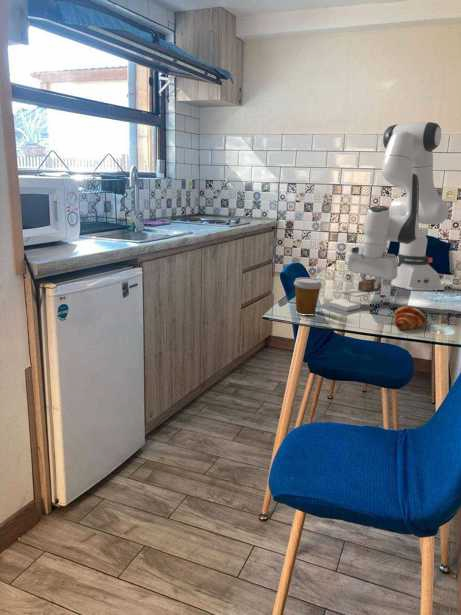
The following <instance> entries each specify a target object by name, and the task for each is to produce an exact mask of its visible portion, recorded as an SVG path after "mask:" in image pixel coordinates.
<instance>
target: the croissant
mask: <svg viewBox="0 0 461 615" xmlns="http://www.w3.org/2000/svg"><path fill="white" fill-rule="evenodd" d="M393 320H394V325H395V327H396V328H397V329H398V330H408V331H410V330H411V331H412V330H413V329H418V328H419V327H421V326H423V325H425V324H426V321H427V316H426V315H425V313H423V312H422V311H421V310H420V309H418V308H416V307H414V306H411V305H410V306H409V305H407V306H406V305H405V306H401V307H398V308H397V309H396V310H395V311H394V314H393Z"/></svg>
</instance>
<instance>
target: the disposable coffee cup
mask: <svg viewBox="0 0 461 615" xmlns="http://www.w3.org/2000/svg"><path fill="white" fill-rule="evenodd" d="M293 285H294V289H295V291H294V292H295V311H297V312H298V313H301V314H314V313H316V310H317V309H316V308H317V307H316V306H317V305H318V299H319V295H320V289H321V288H322V285H323V284H322V281H321V280H320V279H318V278H314V277H308V276H307V277H305V276H304V277H303V276H302V277H297V278H295V280H294V282H293ZM314 315H315V314H314Z"/></svg>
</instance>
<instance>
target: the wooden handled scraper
mask: <svg viewBox="0 0 461 615" xmlns="http://www.w3.org/2000/svg"><path fill="white" fill-rule="evenodd" d="M375 281H376V280H375V278H371V279H366V280H365V281H362V280H360V281H358V286H357V287H358V288H357V289H355V288H353V289H347V290H343V291H342V290H341V291H340V294H343V295H346V296H351V297H354V298H359V297H364V296H369V295H371V293H373V292H379V291H381V287H382V286H381V284H382V280H381V281H380V282H379V284H378V288H376V289H374V288H372V283H375Z"/></svg>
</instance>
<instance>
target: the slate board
mask: <svg viewBox="0 0 461 615" xmlns="http://www.w3.org/2000/svg"><path fill="white" fill-rule="evenodd" d="M316 308H318V309H322V310H326V311H329V312H331V313H336V314H338V315H342V316H345V317H346V316H351V315H354V314H359V313H362V312H366V311H370V310H374V309H376V307H373V306H369V305H367V304H363V303H360V308H358V309H354V310H349V311H344V310H341V309H337V308H334V307H330V306H329V302H328V303H323V304H317V305H316Z"/></svg>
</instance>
